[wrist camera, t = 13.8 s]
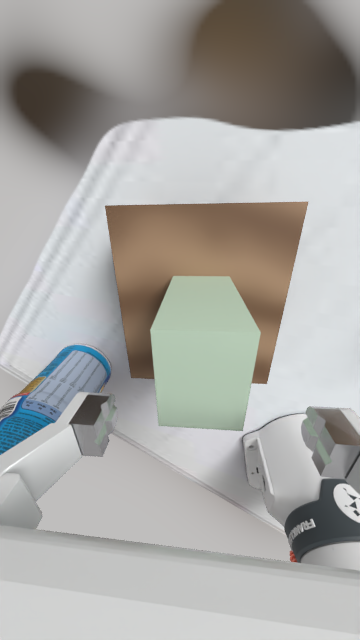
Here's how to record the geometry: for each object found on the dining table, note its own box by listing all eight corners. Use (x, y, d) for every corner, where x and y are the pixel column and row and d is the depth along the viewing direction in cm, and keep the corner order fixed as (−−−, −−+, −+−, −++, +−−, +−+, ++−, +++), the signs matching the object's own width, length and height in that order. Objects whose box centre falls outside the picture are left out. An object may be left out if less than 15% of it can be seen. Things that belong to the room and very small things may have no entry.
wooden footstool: (248, 341, 28) (266, 383, 21) (147, 338, 29) (131, 377, 22) (270, 207, 21) (308, 201, 14) (135, 209, 22) (105, 205, 15)
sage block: (229, 276, 16) (260, 332, 8) (223, 340, 19) (242, 431, 11) (173, 276, 17) (150, 329, 9) (174, 339, 19) (158, 425, 11)
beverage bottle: (114, 346, 30) (-9, 534, 12) (113, 388, 34) (18, 579, 16) (57, 336, 30) (-150, 509, 12) (62, 379, 34) (-89, 560, 16)
